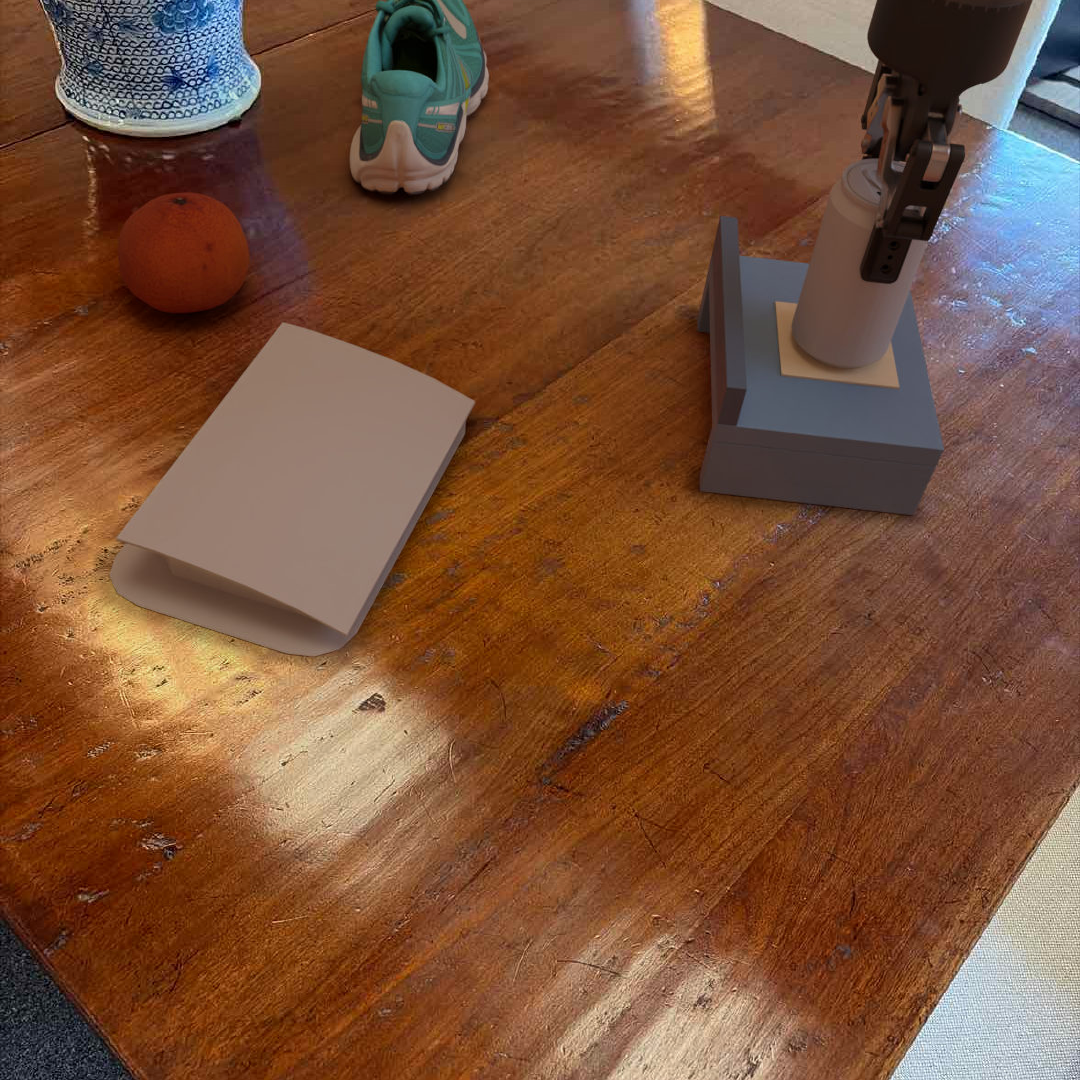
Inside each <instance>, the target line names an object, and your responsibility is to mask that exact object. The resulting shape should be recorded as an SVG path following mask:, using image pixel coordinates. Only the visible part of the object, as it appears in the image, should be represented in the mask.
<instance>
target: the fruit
mask: <svg viewBox="0 0 1080 1080" xmlns="http://www.w3.org/2000/svg"><path fill="white" fill-rule="evenodd" d="M240 223H241V222H239V220H238V219H237V217H236V215H235V214H234V213H233V211H232V210H231V209H230V208H228V206H226V205H225V204H224V203H223V202H221V201H219V200H217V199H215V198H214V197H212V196H209V195H205V194H204V193H203V194H202V193H198V192H188V191H187V192H175V193H168V194H161V195H160V196H157V197H155V198H153V199H151V200H149V201H147V202H146V203H144V204H143V205H142V206H141V207H140V208H138V209H137V210H135V211H134V212H133V213H131V215H130V216H129V217H128V218H127V220H126V221H125V223H124V224H123V226H122V228H121V231H120V233H119V237H118V244H117V259H118V266H119V267H118V268H119V272H120V276H121V279H122V280H123V282H124V284H125V285H126V287H127V289H128V290H129V291H130V293H132V294H133V295H134V296H135V297H136V298H137V299H139V300H141V301H142V302H144V303H145V304H146V305H148V306H149V307H151V308H153V309H155V310H158V311H161V312H164V313H171V314H174V313H175V314H189V313H199V312H203V311H208V310H211V309H215V308H216V307H219V306H221V305H223V304H225V303H226V302H228V301H229V300H231V299H232V298H233V297H234V296H235V295H236V294H237V293H238V291H240V289H241V287H242V286H243V284H244V282H245V280H246V277H247V274H248V270H249V265H250V249H249V244H248V240H247V237H246V236H245V233H244V230H243V227H242V225H241V224H240Z"/></svg>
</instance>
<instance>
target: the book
mask: <svg viewBox="0 0 1080 1080" xmlns="http://www.w3.org/2000/svg"><path fill="white" fill-rule="evenodd" d="M475 405H476V401H475V400H474V399H472V398H470V397H468V396H467V395H465V394H463V393H461V392H459V391H458V390H456V389H454V388H452V387H450V386H449V385H447V384H445V383H443V382H441V381H440V380H437V379H436V378H434V377H432V376H429V375H427V374H425V373H423V372H421V371H418V370H416V369H414V368H412V367H410V366H408V365H406V364H403V363H401V362H398V361H396V360H394V359H392V358H389V357H386V356H384V355H381V354H380V353H379V354H378V353H376V352H373V351H371V350H369V349H366V348H363V347H360V346H359V345H355V344H353V343H350V342H347V341H344V340H342V339H338V338H337V337H336V338H335V337H333V336H330V335H326V334H324V333H321V332H318V331H315V330H313V329H309V328H306V327H301V326H299V325H295V324H292V323H288V322H284V321H283V322H281V324H280V325H279V326H278V328H277V329H276V330H275V332H274V333H272V336H271V337H270V338H269V339H268V341H267V342H266V343H265V345H264V346H263V347H262V348H261V350H260V351H259V352H258V354H257V355H256V356H255V358H254V359H252V361H251V362H250V364H249V365H248V367H247V368H246V369H245V370H244V372H243V373H242V374H241V376H240V377H239V378H238V379H237V380H236V382H235V383H234V385H233V386H232V387H231V388H230V389H229V391H228V392H227V394H225V396H224V397H223V399H222V400H221V402H220V403H219V404H218V405H217V406H216V408H215V409H214V411H212V413H211V414H210V416H208V418H207V419H206V421H205V422H204V424H203V425H202V426H201V427H200V428H199V430H198V431H197V432H196V434H195V435H194V436H193V438H192V439H191V440H190V442H189V443H188V444H187V445H186V447H185V448H184V450H183V451H182V452H181V454H180V455H178V457H177V458H176V460H175V461H174V463H173V464H172V465H171V466H170V467H169V469H168V470H167V471H166V473H165V474H164V475H163V477H161V479H160V481H159V482H158V483H157V485H155V487H154V488H153V489H152V491H151V492H150V494H148V496H147V498H146V499H145V500H144V501H143V503H141V505H140V506H139V508H138V509H137V510H136V512H134V514H133V515H132V517H131V518H130V519H129V520H128V522H127V523H126V525H125V526H124V527H123V528H122V530H121V531H120V532H119V534H118V535H117V536H116V538H115V540H116V542H120V543H123V544H124V545H123V546H122V547H121V549H120V550H119V552H118V553H116V556H115V557H114V559H113V563H112V565H111V568H110V571H109V573H108V577H109V578H110V580H111V583H112V585H113V587H114V590H115V591H116V593H117V595H119V596H121V598H124V599H126V600H127V601H129V602H130V603H132V604H134V605H136V606H137V607H140V608H143V609H146V610H149V611H153V612H155V613H159V614H161V615H165V616H168V617H171V618H174V619H177V620H180V621H183V622H186V623H189V624H192V625H196V626H199V627H202V628H205V629H208V630H212V631H214V632H217V633H221V634H225V635H227V636H230V637H233V638H236V639H239V640H243V641H245V642H249V643H251V644H255V645H257V646H261V647H265V648H266V649H267V648H268V649H270V650H274V651H277V652H280V653H283V654H286V655H296V656H303V657H312V658H315V657H318V656H322V655H325V654H330V653H332V652H336V651H340V650H341V649H342V648H344V646H345V645H346V644H347V643H348V642H349V641H350V640H352V639H353V637H355V636H356V635H357V634H358V631H359V629H360V628H361V626H362V624H363V622H364V620H365V619H366V617H367V615H368V613H369V611H370V609H371V608H372V606H373V604H374V602H375V600H376V598H377V596H378V594H379V593H380V592H381V589H382V588H383V585H384V583H385V582H386V580H387V579H388V576H389V574H390V572H391V571H392V569H393V568H394V565H395V563H396V562H397V560H398V558H399V556H400V555H401V552H402V550H404V547H405V545H406V543H407V541H408V539H409V538H410V537H411V535H412V532H413V530H414V529H415V527H416V525H417V523H418V521H419V519H420V518H421V516H422V514H423V512H424V510H425V508H426V507H427V505H428V503H429V501H430V500H431V498H432V495H433V493H434V492H435V490H436V488H437V487H438V484H439V483H440V480H441V479H442V477H443V475H444V473H445V471H446V470H447V468H448V466H449V465H450V463H451V461H452V458H453V456H454V455H455V454H456V452H457V450H458V448H459V446H460V444H461V442H462V440H463V439H464V437H465V435H466V424H467V419H468V417H469V415H470V414H471V412H472V410H473V409H474V406H475Z"/></svg>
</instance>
